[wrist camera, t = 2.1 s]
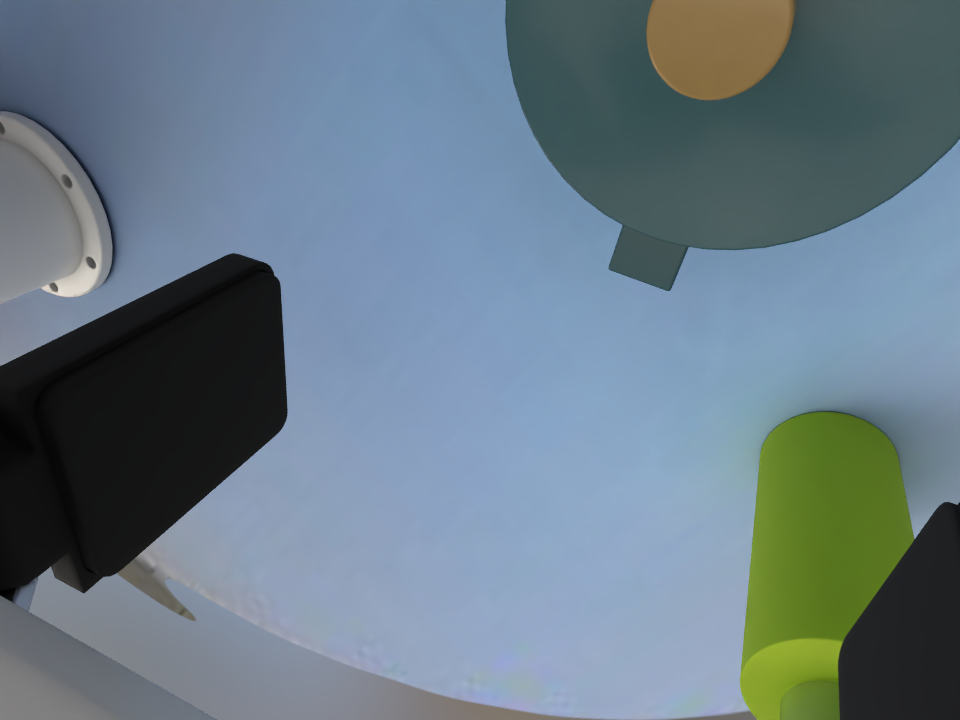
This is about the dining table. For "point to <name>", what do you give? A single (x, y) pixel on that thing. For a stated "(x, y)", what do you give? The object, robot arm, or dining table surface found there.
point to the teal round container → (647, 258)
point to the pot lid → (738, 108)
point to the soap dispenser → (817, 557)
